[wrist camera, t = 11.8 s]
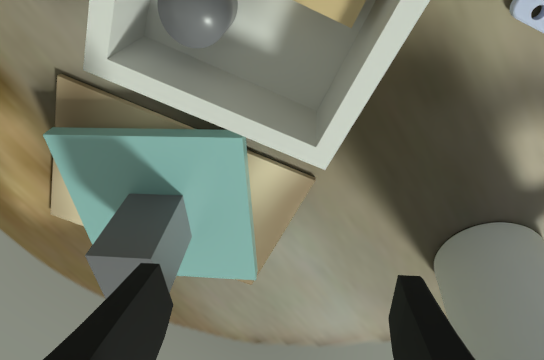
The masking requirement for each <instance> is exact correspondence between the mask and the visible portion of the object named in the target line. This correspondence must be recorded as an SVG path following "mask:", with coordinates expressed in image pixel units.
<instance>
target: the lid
mask: <svg viewBox="0 0 544 360" xmlns="http://www.w3.org/2000/svg"><path fill="white" fill-rule="evenodd" d="M43 136H44V138H45V140H46V143H47V145H48V147H49V149H50V151H51V154H52V156H53V158H54V160H55V163H56V165H57V167H58V169H59V171H60V174H61V176H62V178H63V180H64V183H65V185H66V187H67V189H68V191H69V194H70V196H71V198H72V200H73V203H74V205H75V207H76V209H77V212H78V214H79V216H80V218H81V220H82V223H83V225H84V227H85V229H86V232H87V234H88V236H89V238H90V240H91V243H92V246H91V248H90V249H89V251H88V252H87V254H86V255H85V256H86V258H87V260H88V262H89V265H90V267H91V269H92V271H93V273H94V275H95V277H96V279H97V281H98V283H99V286H100V288H101V290H102V292H103V294H104V296H105V298H106V299H107V298H108V297H109V296H110V295H111V293H112V292H113V291H114V290H115V289H116V288H117V287H118V286H119V285H120V284H121V283H122V282H123V281H124V280H125V279H126V278H127V277H128V276H129V275H130V274H131V273H132V271H133V270H134V269H135V268H136V267H137V266H138V265H139V264H140V263H154V264H160V267H161V270H162V273H163V276H164V279H165V282H166V285H167V288H168V291H169V292H170V290H171V287H172V285H173V282H174V280H175V278H176V276H193V277H209V278H226V279H243V280H256V277H257V271H258V269H257V257H256V246H255V235H254V224H253V213H252V202H251V191H250V179H249V168H248V157H247V146H246V137H244V136H242V135H239V134H237V133H234V132H232V131H229V130H205V129H137V128H69V127H52V128H51V129H50V130H48V131H47V132H46V133H44V134H43Z"/></svg>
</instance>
